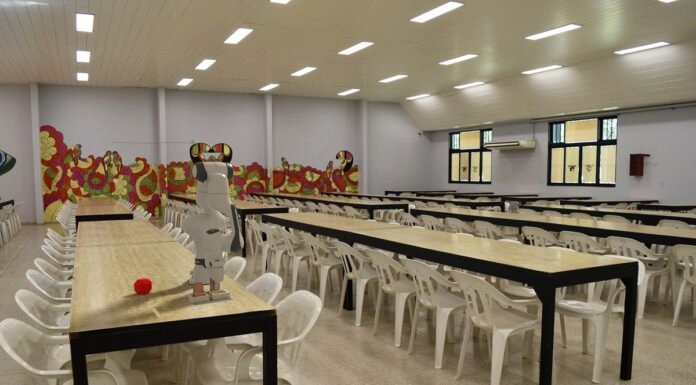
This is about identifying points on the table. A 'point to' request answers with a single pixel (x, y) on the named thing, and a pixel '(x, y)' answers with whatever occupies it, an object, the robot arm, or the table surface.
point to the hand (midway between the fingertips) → (214, 287)
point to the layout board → (210, 297)
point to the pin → (198, 289)
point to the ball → (142, 286)
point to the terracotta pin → (213, 285)
